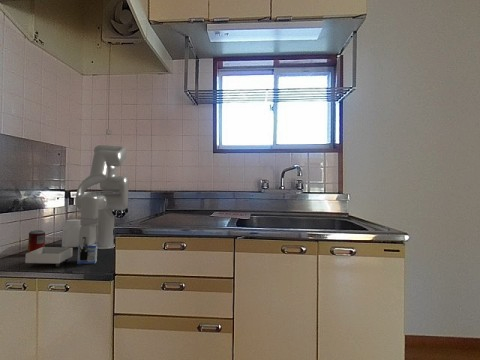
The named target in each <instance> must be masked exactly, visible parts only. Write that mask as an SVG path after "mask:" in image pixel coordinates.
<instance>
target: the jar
mask: <svg viewBox="0 0 480 360" xmlns="http://www.w3.org/2000/svg"><path fill="white" fill-rule="evenodd" d="M80 227H81V225H80V219H67V220H65V225H64V226H63V228H62V234H61V235H62V236H61V248H78V246H79V245H78V243H79V233H80Z"/></svg>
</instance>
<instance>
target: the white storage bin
mask: <svg viewBox="0 0 480 360" xmlns="http://www.w3.org/2000/svg"><path fill="white" fill-rule="evenodd" d="M73 249H74V247H58V246H57V247H50V246H49V247H47V246H44V247H41V248H39V249H36V250H34V251H31V252H29V253H28V252H27V253H25V259H24V260H25V261H24V262H25V264H28V267H29V268H32V267H34V265H35V264H55V268H60V267H61V263H63V262H65V263H68V262H69V261H70V258H72V257H73V253H74V250H73Z"/></svg>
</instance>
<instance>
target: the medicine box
mask: <svg viewBox="0 0 480 360" xmlns="http://www.w3.org/2000/svg"><path fill="white" fill-rule="evenodd" d="M85 249H86V247H85ZM87 251H88V259H87V260H80V246H78V247H77V261H76V262H77V265H91V264H92V265H93V264H96V263H97V261H98V258H97V257H98V249H97V244H96V243H95V244H92V245H90V246H88V249H87Z"/></svg>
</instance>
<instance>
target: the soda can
mask: <svg viewBox="0 0 480 360" xmlns="http://www.w3.org/2000/svg"><path fill="white" fill-rule="evenodd" d="M45 239H46V232H45V231H44V230H41V229H40V230H39V229H38V230H30V231H29V232H28V243H27V244H28V246H27V247H28V249H27V253H29V252H31V251H34V250H36V249H39V248H41V247H46V246H45V241H46V240H45Z"/></svg>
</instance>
